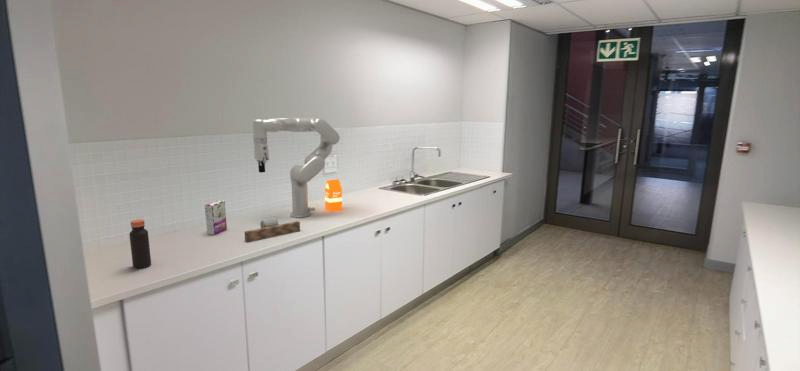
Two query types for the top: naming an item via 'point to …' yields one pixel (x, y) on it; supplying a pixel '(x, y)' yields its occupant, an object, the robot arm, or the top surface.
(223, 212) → the candy bar box
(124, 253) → the top surface
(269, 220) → the ceramic mug
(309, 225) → the top surface
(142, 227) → the bottle
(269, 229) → the walnut board
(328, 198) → the orange juice
